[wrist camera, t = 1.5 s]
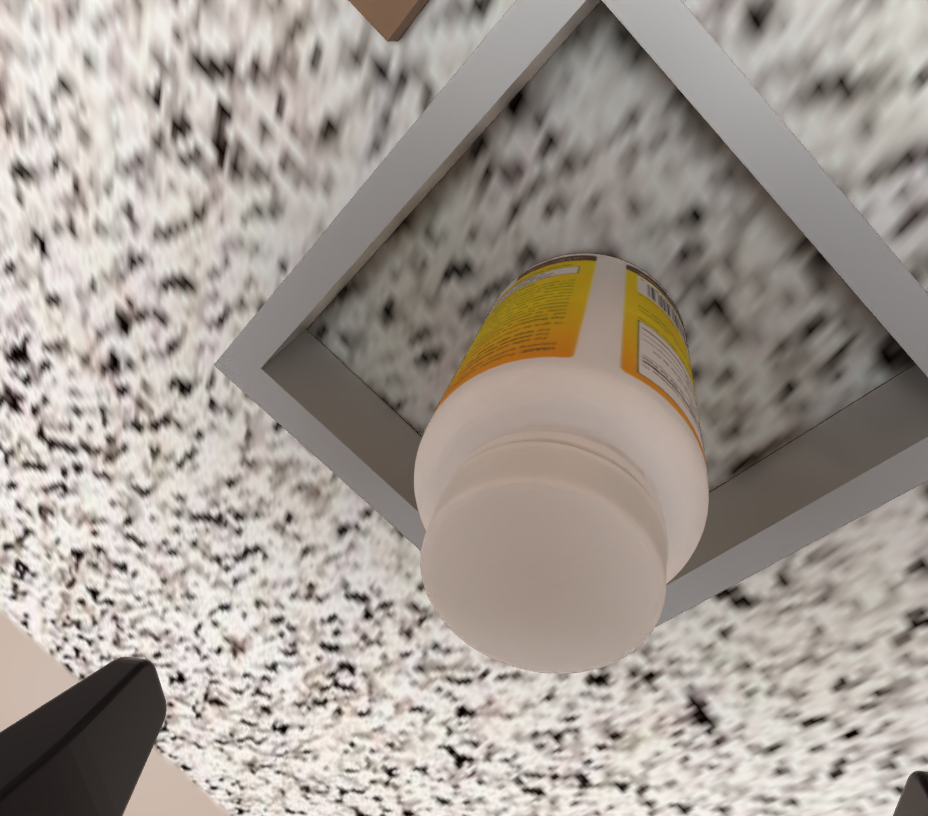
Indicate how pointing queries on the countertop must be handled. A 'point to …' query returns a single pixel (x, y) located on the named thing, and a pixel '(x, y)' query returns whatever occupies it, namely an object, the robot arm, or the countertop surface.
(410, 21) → the walnut board
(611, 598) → the supplement bottle
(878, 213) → the countertop surface
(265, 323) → the grey square frame
